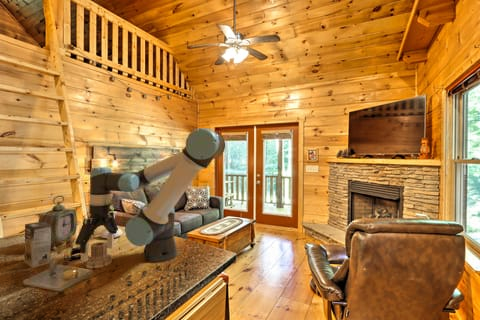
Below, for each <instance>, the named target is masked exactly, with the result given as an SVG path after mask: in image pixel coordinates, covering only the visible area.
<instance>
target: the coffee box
mask: <svg viewBox="0 0 480 320" xmlns="http://www.w3.org/2000/svg"><path fill="white" fill-rule="evenodd" d="M51 244H52V243H51V225H49V224H47V223H45V222H39V221H38V222H32V223H31V222H30V223H25V224H24V263H25V264H26V265H28V266H29V267H30V268H32V269H34V268H37V267H40V266H44V265H48V264H50V260H51V250H52V246H51Z"/></svg>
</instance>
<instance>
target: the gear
mask: <svg viewBox="0 0 480 320" xmlns="http://www.w3.org/2000/svg"><path fill="white" fill-rule="evenodd" d="M112 260H113V259H112V255H111V254H108V248H107V241H97V242H94V243H91V244H90V256H89V258H88V261H85V267H86V269H98V268H104V267H106V266H109V265H110V264H112Z"/></svg>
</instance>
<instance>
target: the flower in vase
mask: <svg viewBox="0 0 480 320" xmlns="http://www.w3.org/2000/svg"><path fill="white" fill-rule="evenodd" d="M112 199H113V192H112V193H111V192H110V210H111V211H110V212H113V213H114V219H115V218H116V215H117V213H118V211H114V210H115V207H114V205H113V202H112ZM115 220H116V219H115ZM108 233H109V232H108V231H107V229H106V228H105V229H104V230H102V232H100V233H99V235H100V237H101V238H103V239H107V234H108ZM123 234H124V231H123V230H122V229H121V228H119V227H118V231H117V233H116V234H115V233H114V239H115V238H119V237H120V236H122V235H123Z"/></svg>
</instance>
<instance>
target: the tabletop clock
mask: <svg viewBox="0 0 480 320" xmlns="http://www.w3.org/2000/svg"><path fill="white" fill-rule="evenodd" d="M58 198H62V201H61V202H60V201H57V202H55V200H57V199H58ZM64 201H65V197H64V195H57V196H55V197H54V198H53V200H52V203H53V204H54V206H53V207H52V208H51V210H49V211H46V212H44V213H42V214H40V216H39V217H38V222H45V223H47V224H49V225H51V242H52V243H51V250H52V251H56V250H57V246H56V243H60V242H63V241H65V240H68V243H72V242H73V239H72V237H73V236H74V235H75V234H76V230H77V223H78V222H77V221H78V219H77V212H76V211H77V209H73V208H72V209H71V208H69V209H68V208H66V207H65V205H63V202H64Z"/></svg>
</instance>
